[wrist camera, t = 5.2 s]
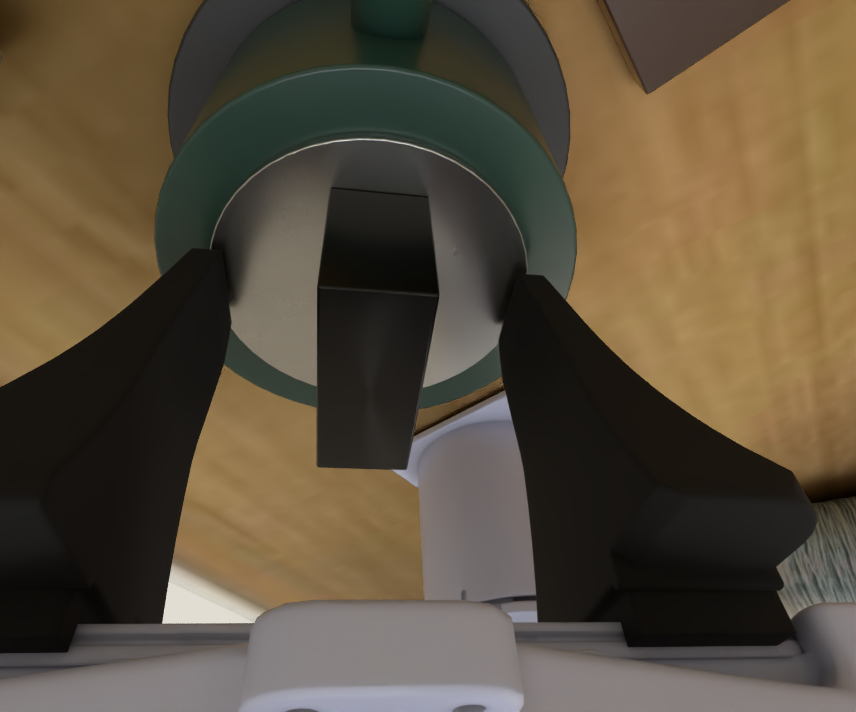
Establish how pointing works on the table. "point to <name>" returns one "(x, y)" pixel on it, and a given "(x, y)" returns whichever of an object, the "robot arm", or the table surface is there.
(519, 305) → the robot arm
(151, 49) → the table surface
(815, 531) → the spool
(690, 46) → the switch block
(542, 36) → the kettle base
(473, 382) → the kettle
